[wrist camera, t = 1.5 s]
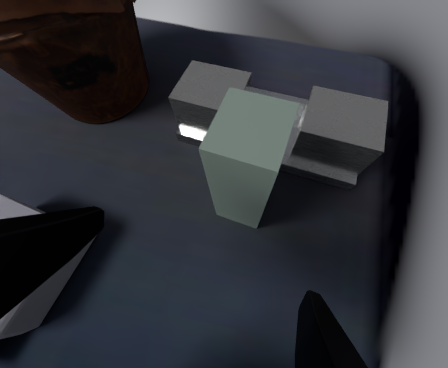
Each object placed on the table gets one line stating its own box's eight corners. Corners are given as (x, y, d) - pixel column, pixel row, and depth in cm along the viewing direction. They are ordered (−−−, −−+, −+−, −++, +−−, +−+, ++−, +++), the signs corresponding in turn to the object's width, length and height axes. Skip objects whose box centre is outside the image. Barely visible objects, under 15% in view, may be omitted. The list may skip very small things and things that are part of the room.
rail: (348, 190, 24) (386, 159, 18) (178, 140, 28) (162, 101, 22) (357, 134, 27) (391, 92, 21) (202, 96, 31) (194, 52, 25)
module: (256, 228, 22) (278, 172, 11) (216, 214, 23) (198, 148, 12) (269, 187, 24) (299, 103, 13) (232, 175, 25) (229, 86, 14)
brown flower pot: (115, 34, 38) (24, -151, 22) (195, 84, 32) (152, -121, 15) (23, 93, 33) (-185, -88, 17) (96, 166, 27) (-119, -8, 11)
